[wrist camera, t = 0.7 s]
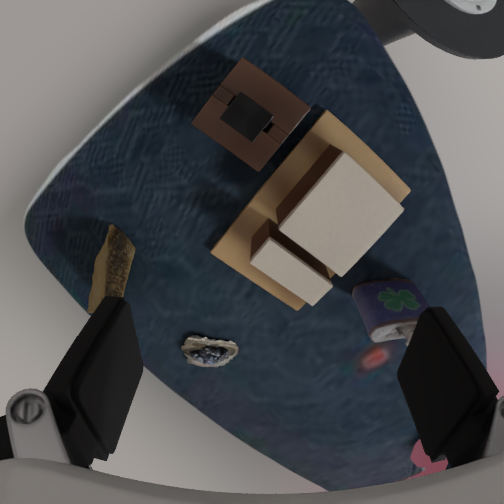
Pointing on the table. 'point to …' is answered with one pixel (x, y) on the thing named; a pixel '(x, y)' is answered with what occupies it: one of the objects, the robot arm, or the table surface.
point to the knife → (246, 116)
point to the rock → (111, 267)
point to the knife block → (266, 95)
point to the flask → (389, 308)
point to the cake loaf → (337, 211)
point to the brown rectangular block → (289, 263)
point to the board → (282, 182)
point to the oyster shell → (209, 351)
